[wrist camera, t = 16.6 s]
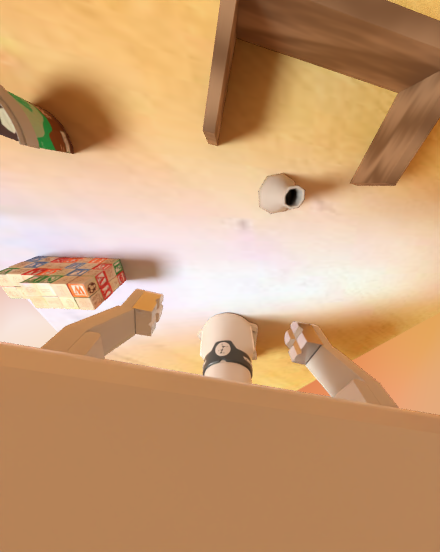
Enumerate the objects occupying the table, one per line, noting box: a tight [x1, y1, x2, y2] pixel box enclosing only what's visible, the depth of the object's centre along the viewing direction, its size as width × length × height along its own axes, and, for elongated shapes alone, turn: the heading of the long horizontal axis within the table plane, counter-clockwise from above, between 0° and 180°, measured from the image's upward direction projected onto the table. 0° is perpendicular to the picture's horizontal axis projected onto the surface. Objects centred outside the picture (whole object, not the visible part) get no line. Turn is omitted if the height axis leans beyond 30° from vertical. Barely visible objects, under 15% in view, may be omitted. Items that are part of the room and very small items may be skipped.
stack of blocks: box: [0, 257, 126, 310], centre depth 37 cm, size 21×6×12 cm, turn 89°
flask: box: [258, 173, 305, 214], centre depth 28 cm, size 7×7×10 cm
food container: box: [0, 85, 73, 154], centre depth 24 cm, size 12×6×10 cm, turn 71°
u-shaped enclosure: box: [203, 0, 440, 186], centre depth 23 cm, size 14×29×8 cm, turn 77°
